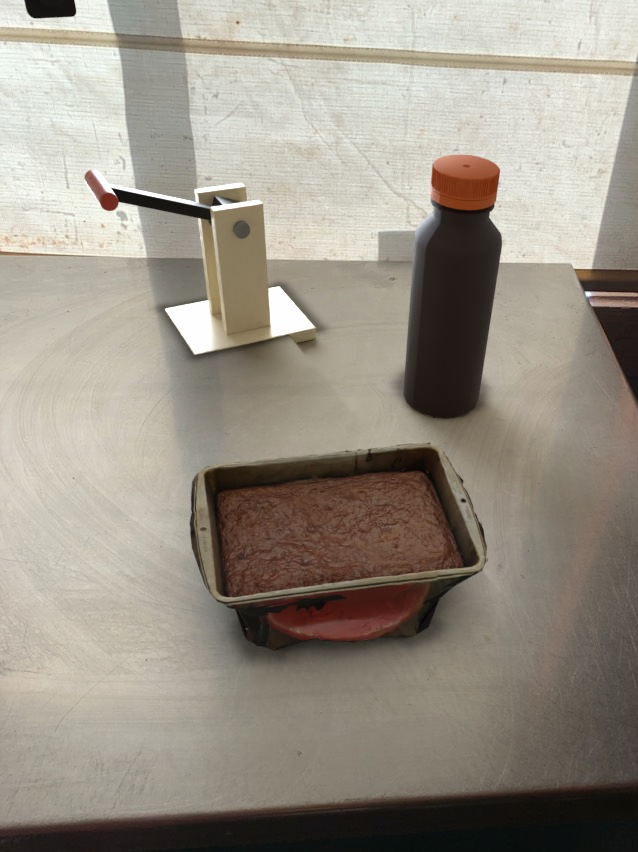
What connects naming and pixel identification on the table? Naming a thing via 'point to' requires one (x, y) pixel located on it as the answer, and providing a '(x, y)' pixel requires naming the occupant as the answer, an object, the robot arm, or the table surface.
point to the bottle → (452, 288)
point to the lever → (147, 198)
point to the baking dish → (335, 542)
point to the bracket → (236, 281)
